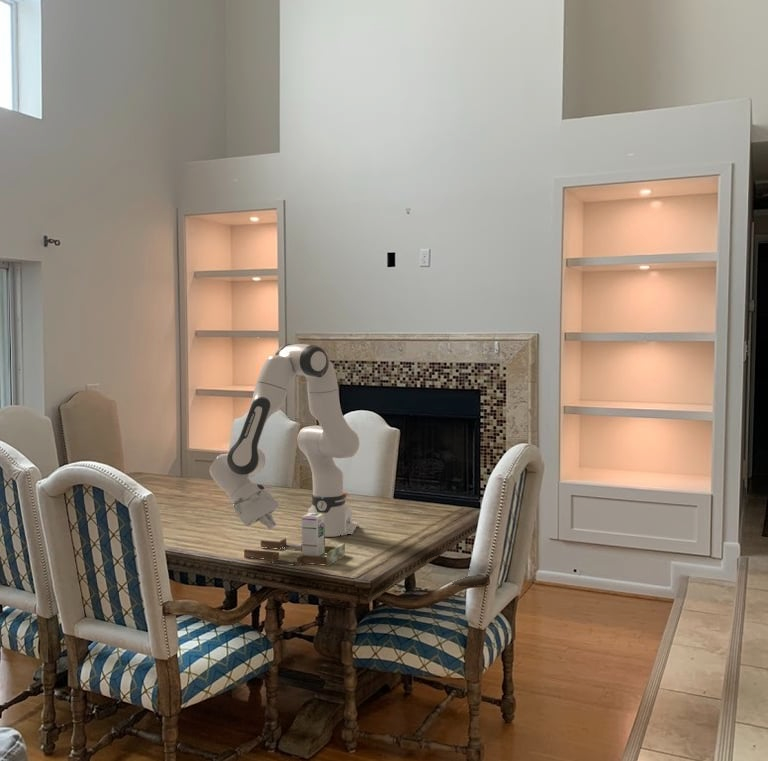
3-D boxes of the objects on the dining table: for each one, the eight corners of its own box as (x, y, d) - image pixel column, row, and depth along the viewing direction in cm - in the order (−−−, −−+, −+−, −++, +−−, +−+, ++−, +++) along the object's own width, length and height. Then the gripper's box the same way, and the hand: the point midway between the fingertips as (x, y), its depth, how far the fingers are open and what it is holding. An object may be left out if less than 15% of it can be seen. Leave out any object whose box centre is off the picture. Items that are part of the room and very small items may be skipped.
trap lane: (268, 543, 281) (267, 532, 280) (349, 551, 271) (349, 539, 271) (239, 559, 261) (239, 547, 261) (326, 568, 252) (326, 556, 252)
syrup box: (318, 561, 259) (318, 517, 258) (301, 560, 261) (301, 515, 260) (325, 556, 265) (325, 513, 264) (308, 555, 267) (308, 511, 266)
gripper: (236, 496, 259) (265, 528, 257) (265, 483, 279) (291, 513, 276) (224, 509, 261) (253, 541, 259) (254, 495, 280) (280, 525, 278)
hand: (273, 526), depth 268 cm, fingers closed
